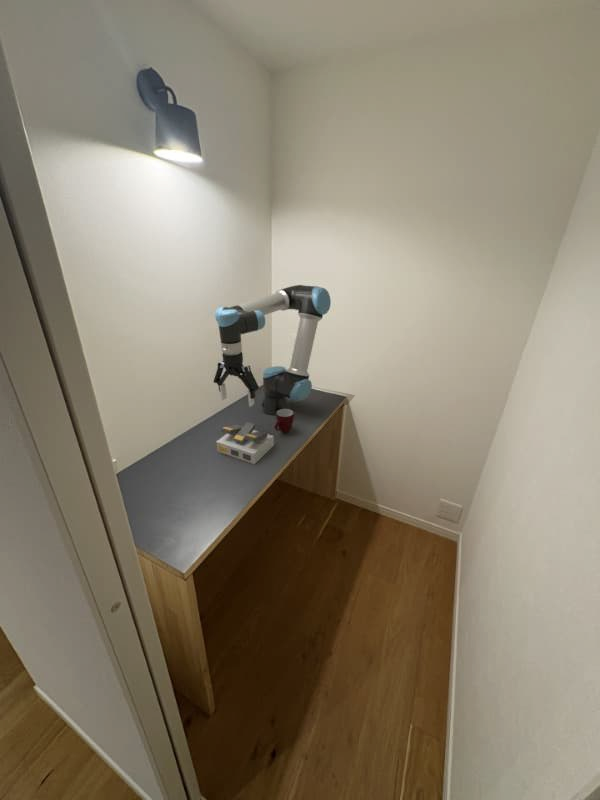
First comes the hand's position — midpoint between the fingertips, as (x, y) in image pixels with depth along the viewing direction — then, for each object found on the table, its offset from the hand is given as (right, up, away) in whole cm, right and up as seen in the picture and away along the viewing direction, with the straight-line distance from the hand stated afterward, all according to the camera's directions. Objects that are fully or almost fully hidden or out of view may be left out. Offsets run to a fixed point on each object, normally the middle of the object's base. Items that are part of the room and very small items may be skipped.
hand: (237, 401), depth 129 cm
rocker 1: (-3, -12, +6) cm, 14 cm away
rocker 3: (+8, -14, +1) cm, 16 cm away
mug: (+18, -15, +19) cm, 30 cm away
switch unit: (+2, -20, +7) cm, 22 cm away
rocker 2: (+2, -13, +4) cm, 14 cm away
